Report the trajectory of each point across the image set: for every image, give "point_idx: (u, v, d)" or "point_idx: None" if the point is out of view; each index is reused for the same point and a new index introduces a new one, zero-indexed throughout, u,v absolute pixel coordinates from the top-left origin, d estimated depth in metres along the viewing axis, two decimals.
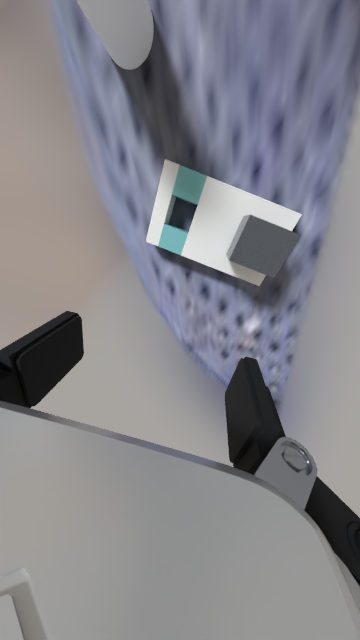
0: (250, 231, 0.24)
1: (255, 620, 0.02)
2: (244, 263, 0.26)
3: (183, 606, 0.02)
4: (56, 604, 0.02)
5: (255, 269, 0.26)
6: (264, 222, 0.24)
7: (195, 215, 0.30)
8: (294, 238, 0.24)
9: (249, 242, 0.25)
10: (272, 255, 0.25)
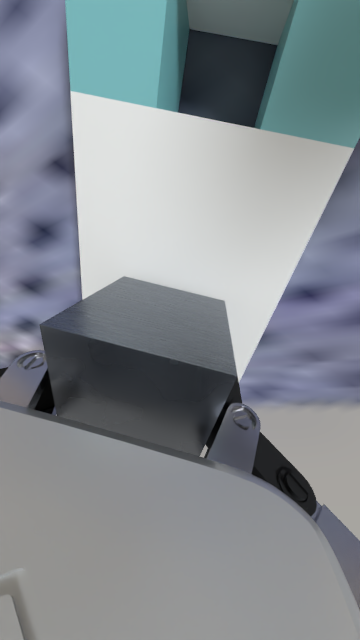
0: (172, 385, 0.06)
1: (255, 620, 0.02)
2: (61, 381, 0.07)
3: (183, 606, 0.02)
4: (56, 605, 0.02)
5: (59, 410, 0.07)
6: (209, 418, 0.06)
7: (222, 128, 0.08)
8: None
9: (132, 384, 0.06)
10: None
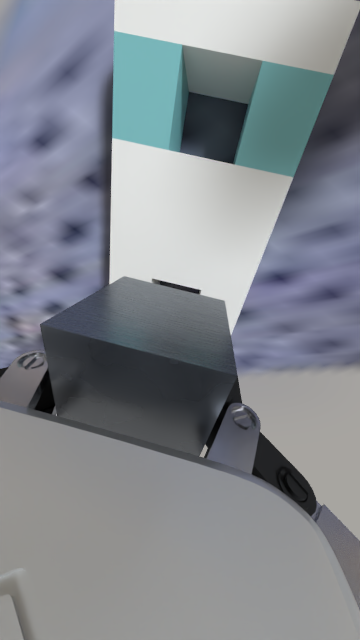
0: (172, 384, 0.06)
1: (255, 620, 0.02)
2: (61, 380, 0.07)
3: (183, 606, 0.02)
4: (56, 605, 0.02)
5: (60, 410, 0.07)
6: (209, 418, 0.06)
7: (210, 163, 0.12)
8: None
9: (132, 384, 0.06)
10: None
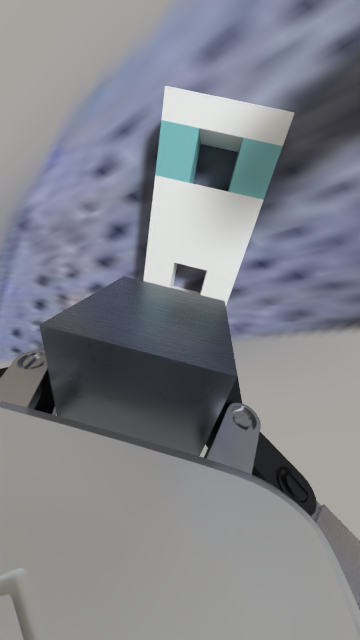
0: (172, 385, 0.06)
1: (255, 620, 0.02)
2: (61, 381, 0.07)
3: (183, 606, 0.02)
4: (55, 606, 0.02)
5: (59, 410, 0.07)
6: (209, 418, 0.06)
7: (214, 190, 0.20)
8: None
9: (132, 384, 0.06)
10: None
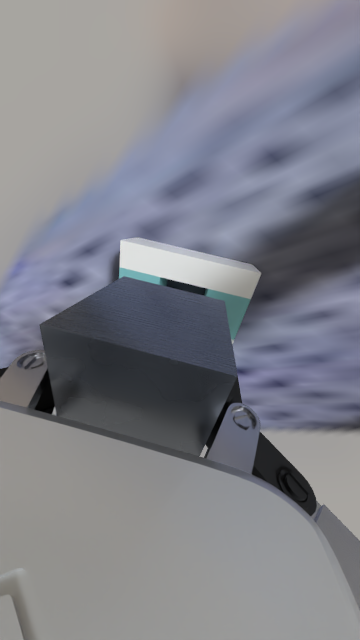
0: (172, 385, 0.06)
1: (255, 620, 0.02)
2: (61, 381, 0.07)
3: (183, 606, 0.02)
4: (56, 605, 0.02)
5: (59, 410, 0.07)
6: (209, 418, 0.06)
7: None
8: None
9: (132, 384, 0.06)
10: None
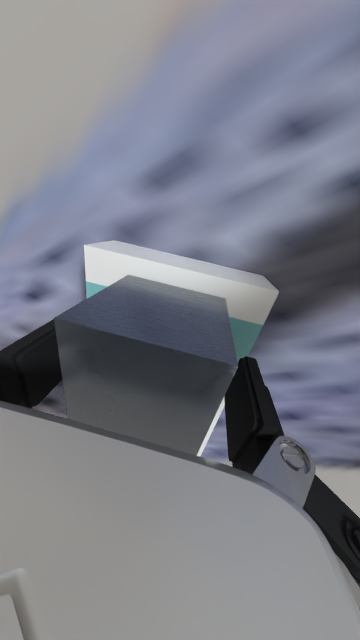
0: (177, 375, 0.06)
1: (255, 620, 0.02)
2: (71, 372, 0.07)
3: (183, 606, 0.02)
4: (57, 604, 0.02)
5: (69, 401, 0.08)
6: (211, 407, 0.07)
7: None
8: None
9: (139, 375, 0.06)
10: (124, 432, 0.08)
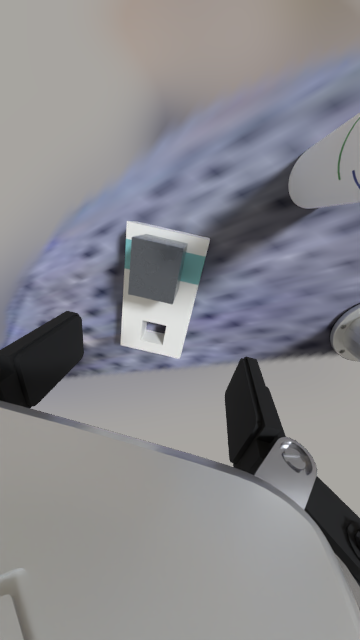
0: (167, 254, 0.21)
1: (255, 620, 0.02)
2: (134, 257, 0.22)
3: (183, 606, 0.02)
4: (56, 605, 0.02)
5: (130, 271, 0.23)
6: (178, 266, 0.22)
7: None
8: (168, 300, 0.24)
9: (156, 256, 0.22)
10: (149, 285, 0.23)
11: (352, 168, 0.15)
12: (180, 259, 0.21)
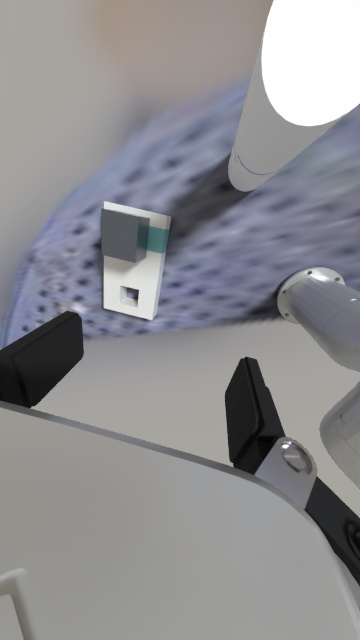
0: (127, 221, 0.29)
1: (255, 620, 0.02)
2: (104, 224, 0.30)
3: (183, 606, 0.02)
4: (56, 606, 0.02)
5: (102, 236, 0.31)
6: (136, 231, 0.29)
7: None
8: (131, 259, 0.31)
9: (119, 223, 0.29)
10: (116, 246, 0.31)
11: (237, 154, 0.22)
12: (137, 225, 0.29)
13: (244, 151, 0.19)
